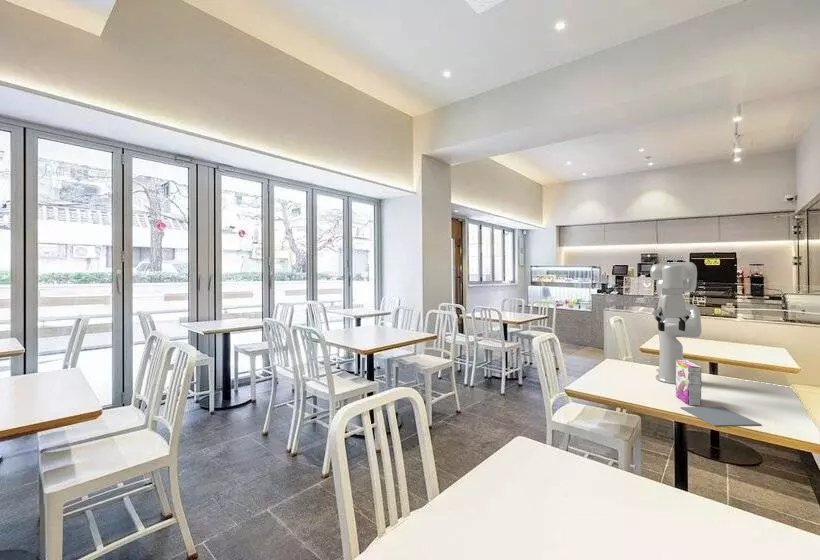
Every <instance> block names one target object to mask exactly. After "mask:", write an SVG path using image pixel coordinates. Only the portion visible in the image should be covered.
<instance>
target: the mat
mask: <svg viewBox="0 0 820 560" xmlns="http://www.w3.org/2000/svg"><path fill="white" fill-rule="evenodd" d="M680 409H681V410H683V411H685V412H687V413H688V414H691V416H694V417H696V418H697V419H700V420H701V421H704V422H705V423H707V424H709V425H711V426H713V427H742V426H743V427H745V426H751V427H753V426H754V427H755V426H762V423H760V422H757V421H755V420H753V419H751V418H750V417H746V416H744V415H742V414H740V413H737V412H735V411H733V410H732V409H729V408H727V407H724V406H683V407H682V406H681V407H680Z"/></svg>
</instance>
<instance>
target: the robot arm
mask: <svg viewBox="0 0 820 560" xmlns="http://www.w3.org/2000/svg"><path fill="white" fill-rule="evenodd" d="M649 270H650V271H649V274H650V277H651V279H652V280H653V281H656V282H655V283H656V284H655V288H656V293H657V295H658V303H657V309H656V310H654V311H653V312H651V314H652V316H653V317H654V318H653V319H655V320H656V322H657V330H658V336H659V358H658V361H659V365H658V366H659V367H658V368H657V369H656V372H658V374H656V375H655V379H656V381H659V382H663V383H665V384H675V385H676V360H684V358H683V354H684V350H683V347H684V346H683V344H682V342H681V341H679V339H678V338H687V339H688V338H689V339H697V338H699V337H700V336H701V335H702V320H701V318H702V317H701V311H700V308H699V306H697V305H696V304H692V303H691V304H690V303H689V304H688V303H686V300H685V296H684V295H683V293H684V294H685V293H693V292H694V291H696V288H697V281H698V279H697V278H698V271H697V270H698V269H697V265H696V264H695V263H694V262H691V261H682V262H681V261H678V262H676V261H675V262H674V261H673V262H672V261H671V262H663V263H656V264H652V265H651V267H650V269H649Z"/></svg>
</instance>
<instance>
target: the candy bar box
mask: <svg viewBox="0 0 820 560" xmlns="http://www.w3.org/2000/svg"><path fill="white" fill-rule="evenodd" d="M675 396H676V397H677V398H678V399H679V400H681V401H682V402H683V403H685V404H686V405H688V406H689V407H702V366H700V365H698V364H696V363H695V362H692V361H690V360H687V359H683V360H676V384H675Z"/></svg>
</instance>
